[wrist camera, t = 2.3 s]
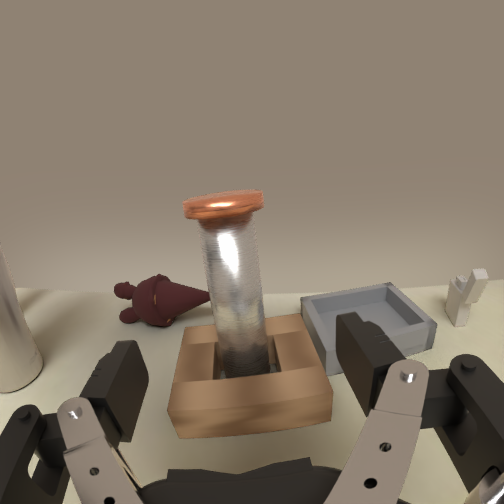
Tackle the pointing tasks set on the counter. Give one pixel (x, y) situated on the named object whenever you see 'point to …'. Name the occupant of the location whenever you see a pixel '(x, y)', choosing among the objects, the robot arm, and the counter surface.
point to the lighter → (464, 295)
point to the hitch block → (249, 385)
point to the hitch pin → (233, 277)
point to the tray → (369, 309)
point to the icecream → (158, 300)
